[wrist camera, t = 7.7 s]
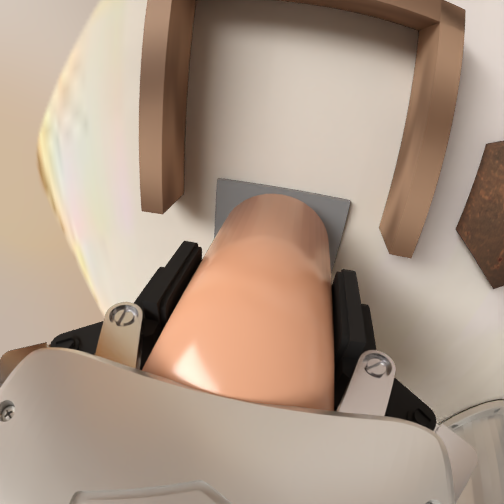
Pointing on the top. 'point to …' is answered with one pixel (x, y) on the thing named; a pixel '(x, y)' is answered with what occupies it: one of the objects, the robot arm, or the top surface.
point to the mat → (325, 206)
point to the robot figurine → (487, 215)
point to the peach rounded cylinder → (257, 311)
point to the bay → (416, 127)
